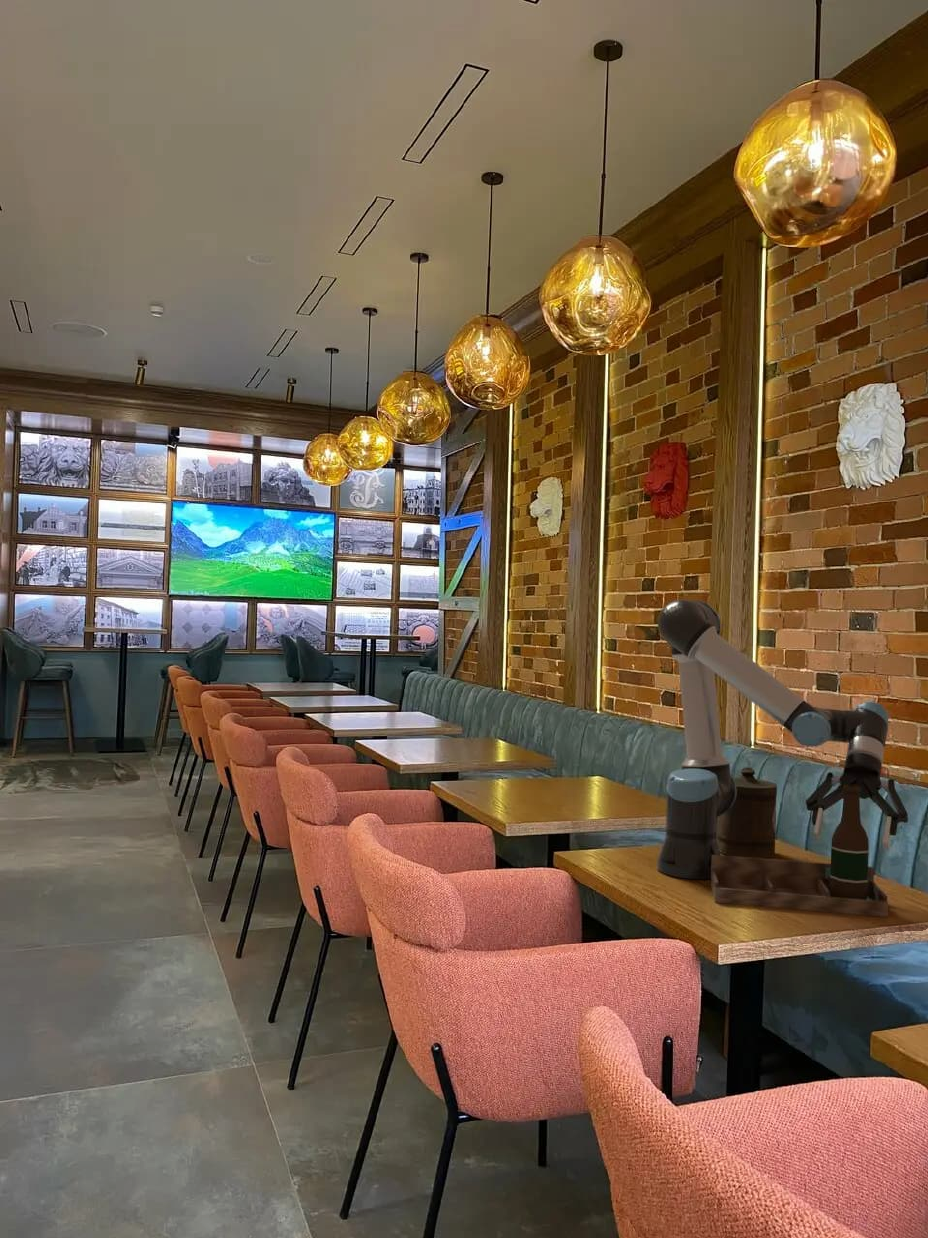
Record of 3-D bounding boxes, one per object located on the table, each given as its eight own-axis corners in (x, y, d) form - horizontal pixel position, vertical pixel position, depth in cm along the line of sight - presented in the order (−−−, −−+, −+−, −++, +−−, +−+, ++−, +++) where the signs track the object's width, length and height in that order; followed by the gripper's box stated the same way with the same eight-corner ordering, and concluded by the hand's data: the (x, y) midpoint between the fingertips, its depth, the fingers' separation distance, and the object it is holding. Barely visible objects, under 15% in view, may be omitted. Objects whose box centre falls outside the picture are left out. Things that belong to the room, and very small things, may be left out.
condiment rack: (714, 902, 196) (715, 869, 196) (710, 886, 209) (711, 854, 209) (887, 917, 189) (888, 882, 190) (872, 899, 202) (873, 867, 202)
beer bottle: (823, 893, 201) (826, 781, 202) (860, 895, 201) (863, 783, 201) (836, 904, 194) (839, 787, 194) (874, 905, 193) (877, 789, 193)
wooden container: (787, 857, 238) (790, 771, 239) (740, 861, 233) (742, 772, 233) (749, 844, 252) (751, 762, 252) (703, 847, 247) (706, 763, 247)
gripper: (926, 778, 204) (917, 861, 191) (807, 766, 217) (791, 843, 204) (925, 756, 200) (915, 840, 187) (803, 745, 212) (786, 822, 200)
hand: (850, 841), depth 195 cm, fingers open, 13 cm apart
